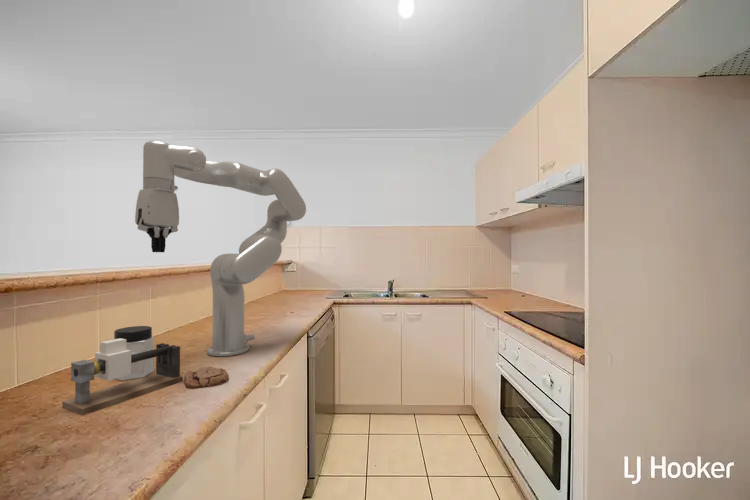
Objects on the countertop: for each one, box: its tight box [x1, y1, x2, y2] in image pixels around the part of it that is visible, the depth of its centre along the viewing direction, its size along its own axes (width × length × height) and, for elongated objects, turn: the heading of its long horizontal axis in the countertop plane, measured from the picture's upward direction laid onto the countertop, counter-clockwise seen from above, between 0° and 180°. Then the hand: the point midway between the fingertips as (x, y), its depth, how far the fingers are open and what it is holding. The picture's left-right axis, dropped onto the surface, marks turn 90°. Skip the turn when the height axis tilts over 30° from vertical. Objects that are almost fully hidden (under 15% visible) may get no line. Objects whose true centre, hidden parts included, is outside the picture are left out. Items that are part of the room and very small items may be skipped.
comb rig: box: [61, 342, 184, 416], centre depth 81 cm, size 21×8×9 cm, turn 154°
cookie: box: [183, 365, 230, 389], centre depth 88 cm, size 10×11×3 cm
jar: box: [113, 325, 155, 382], centre depth 92 cm, size 9×8×12 cm
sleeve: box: [94, 338, 131, 381], centre depth 78 cm, size 4×5×8 cm
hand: (158, 252), depth 99 cm, fingers closed
